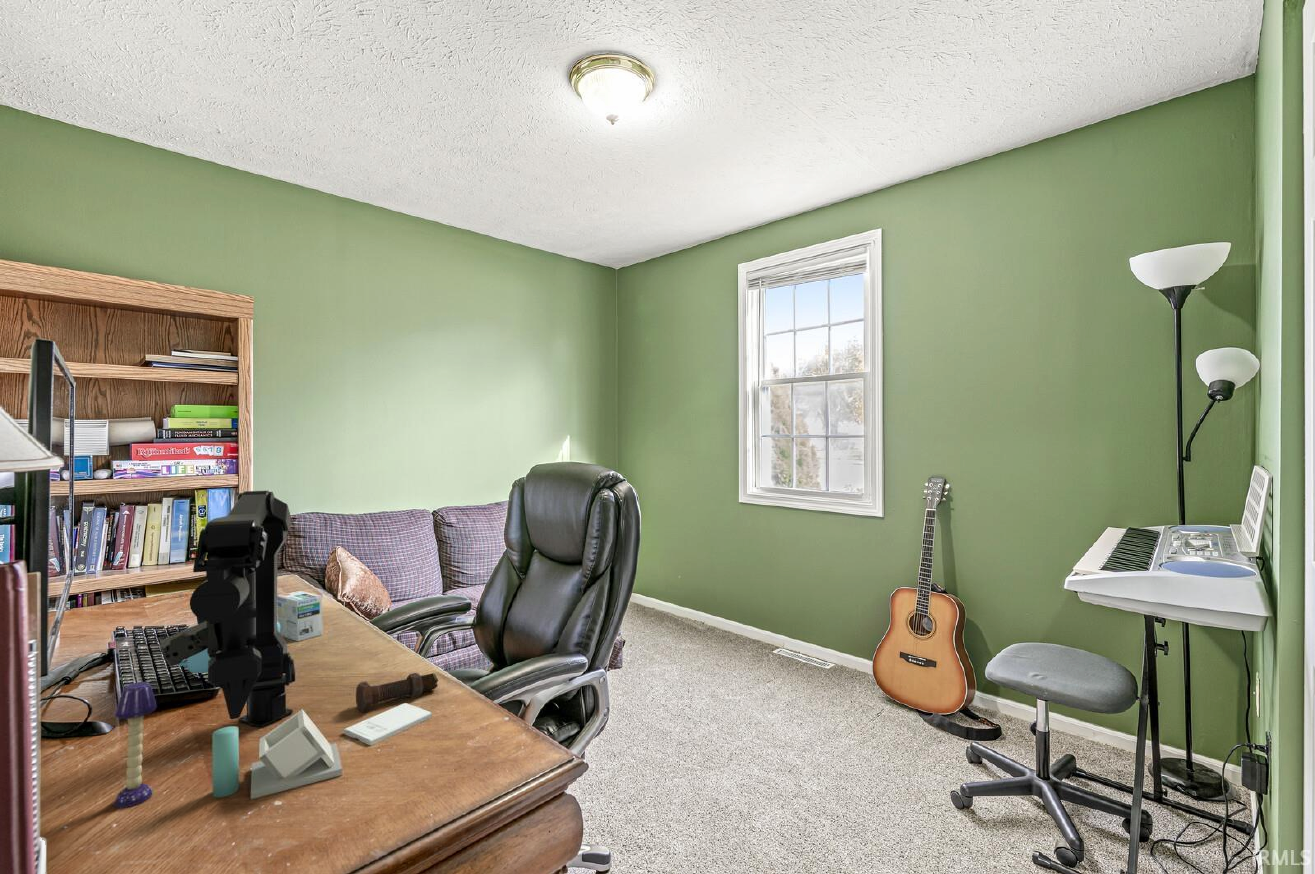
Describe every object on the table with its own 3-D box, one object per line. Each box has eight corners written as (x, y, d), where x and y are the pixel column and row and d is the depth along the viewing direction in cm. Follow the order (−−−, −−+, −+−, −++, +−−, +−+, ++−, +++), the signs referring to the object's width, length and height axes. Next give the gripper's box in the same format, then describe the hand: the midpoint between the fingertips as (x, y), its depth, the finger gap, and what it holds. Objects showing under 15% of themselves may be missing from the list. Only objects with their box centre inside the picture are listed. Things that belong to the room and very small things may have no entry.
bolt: (436, 699, 129) (360, 719, 119) (429, 681, 132) (353, 698, 123) (443, 679, 127) (365, 697, 117) (435, 661, 130) (359, 677, 120)
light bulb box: (323, 635, 165) (323, 594, 165) (297, 642, 160) (297, 600, 160) (301, 628, 171) (301, 589, 171) (276, 635, 165) (275, 594, 165)
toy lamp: (132, 789, 93) (131, 679, 93) (164, 787, 94) (164, 678, 94) (106, 808, 88) (105, 692, 88) (141, 806, 89) (140, 691, 89)
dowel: (207, 794, 92) (207, 734, 92) (229, 783, 95) (229, 724, 95) (222, 799, 91) (221, 737, 91) (243, 787, 94) (243, 728, 94)
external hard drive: (431, 720, 117) (370, 748, 106) (404, 710, 121) (343, 736, 111) (431, 712, 117) (370, 739, 106) (404, 702, 121) (343, 727, 111)
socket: (336, 748, 105) (336, 698, 105) (342, 774, 97) (341, 720, 97) (252, 769, 99) (251, 716, 99) (250, 799, 91) (250, 741, 91)
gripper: (167, 599, 96) (168, 699, 96) (160, 628, 81) (161, 748, 81) (253, 588, 102) (254, 682, 102) (261, 614, 87) (262, 724, 87)
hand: (233, 707), depth 93 cm, fingers open, 9 cm apart
